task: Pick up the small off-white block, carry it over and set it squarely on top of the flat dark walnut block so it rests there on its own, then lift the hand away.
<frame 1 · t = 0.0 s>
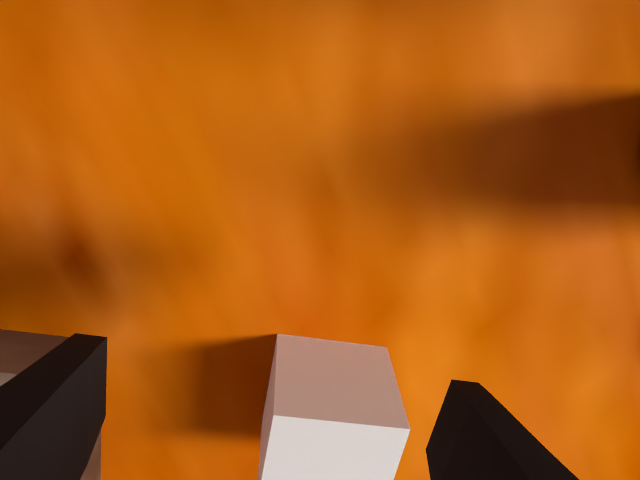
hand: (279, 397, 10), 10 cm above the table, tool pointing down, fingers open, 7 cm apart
off-white block: (322, 383, 23), on the table
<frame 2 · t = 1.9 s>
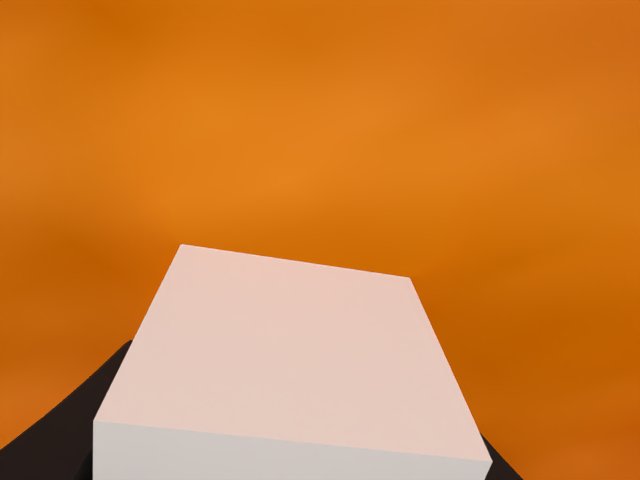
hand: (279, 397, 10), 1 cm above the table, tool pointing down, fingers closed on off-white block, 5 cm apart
off-white block: (280, 354, 12), on the table, touching gripper
when the fingers open (5 cm above the table, at t = 6.1 s): off-white block drops 1 cm, resting on walnut block.
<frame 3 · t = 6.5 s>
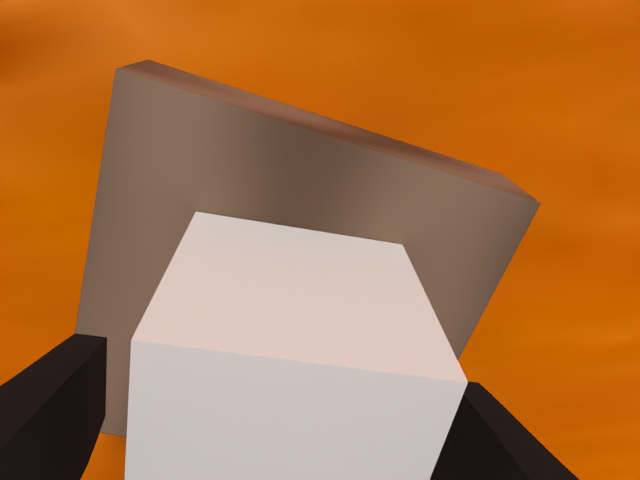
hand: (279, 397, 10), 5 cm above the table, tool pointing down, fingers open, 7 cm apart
walnut block: (283, 269, 16), on the table, touching off-white block
off-white block: (284, 316, 13), point 2 cm above the table, touching walnut block
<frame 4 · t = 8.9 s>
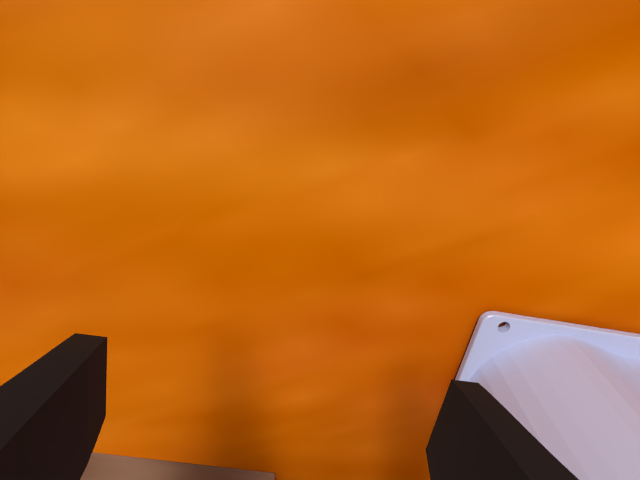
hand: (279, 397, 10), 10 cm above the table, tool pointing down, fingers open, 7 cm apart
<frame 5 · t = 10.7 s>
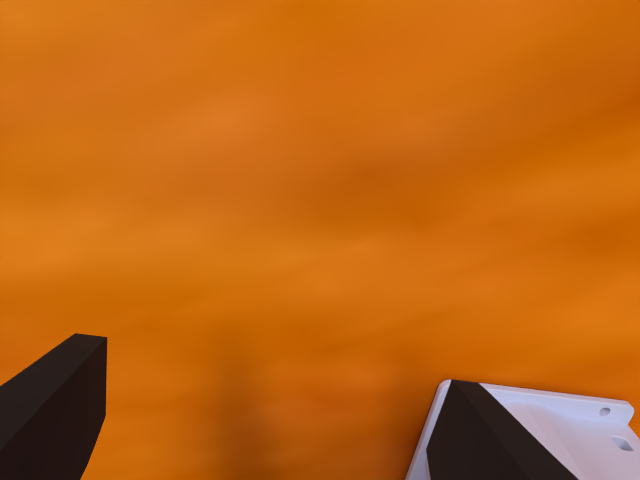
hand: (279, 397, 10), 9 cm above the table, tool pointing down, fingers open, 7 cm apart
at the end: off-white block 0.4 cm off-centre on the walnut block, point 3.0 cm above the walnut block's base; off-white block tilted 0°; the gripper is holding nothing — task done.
